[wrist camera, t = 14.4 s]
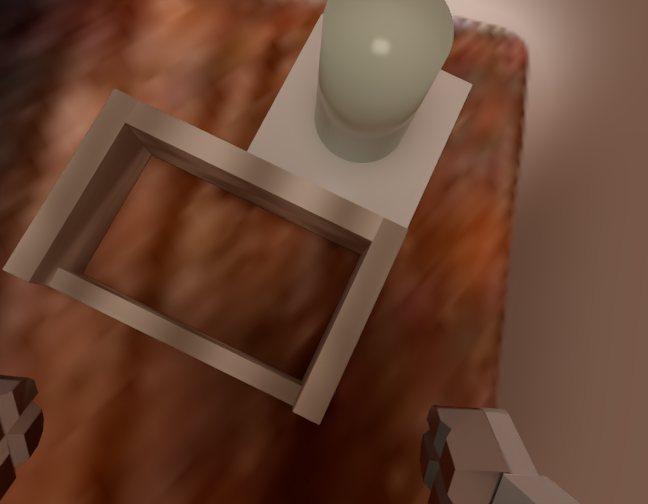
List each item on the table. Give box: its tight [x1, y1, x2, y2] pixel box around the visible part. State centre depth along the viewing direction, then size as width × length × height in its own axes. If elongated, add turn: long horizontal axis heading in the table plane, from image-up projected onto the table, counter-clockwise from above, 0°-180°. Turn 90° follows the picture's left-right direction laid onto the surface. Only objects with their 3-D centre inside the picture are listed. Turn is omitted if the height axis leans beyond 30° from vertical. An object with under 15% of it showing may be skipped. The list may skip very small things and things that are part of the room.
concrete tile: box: [247, 14, 472, 228], centre depth 33 cm, size 12×12×1 cm
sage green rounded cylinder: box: [315, 0, 454, 163], centre depth 27 cm, size 6×6×10 cm
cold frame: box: [2, 89, 408, 425], centre depth 29 cm, size 19×12×5 cm, turn 64°
